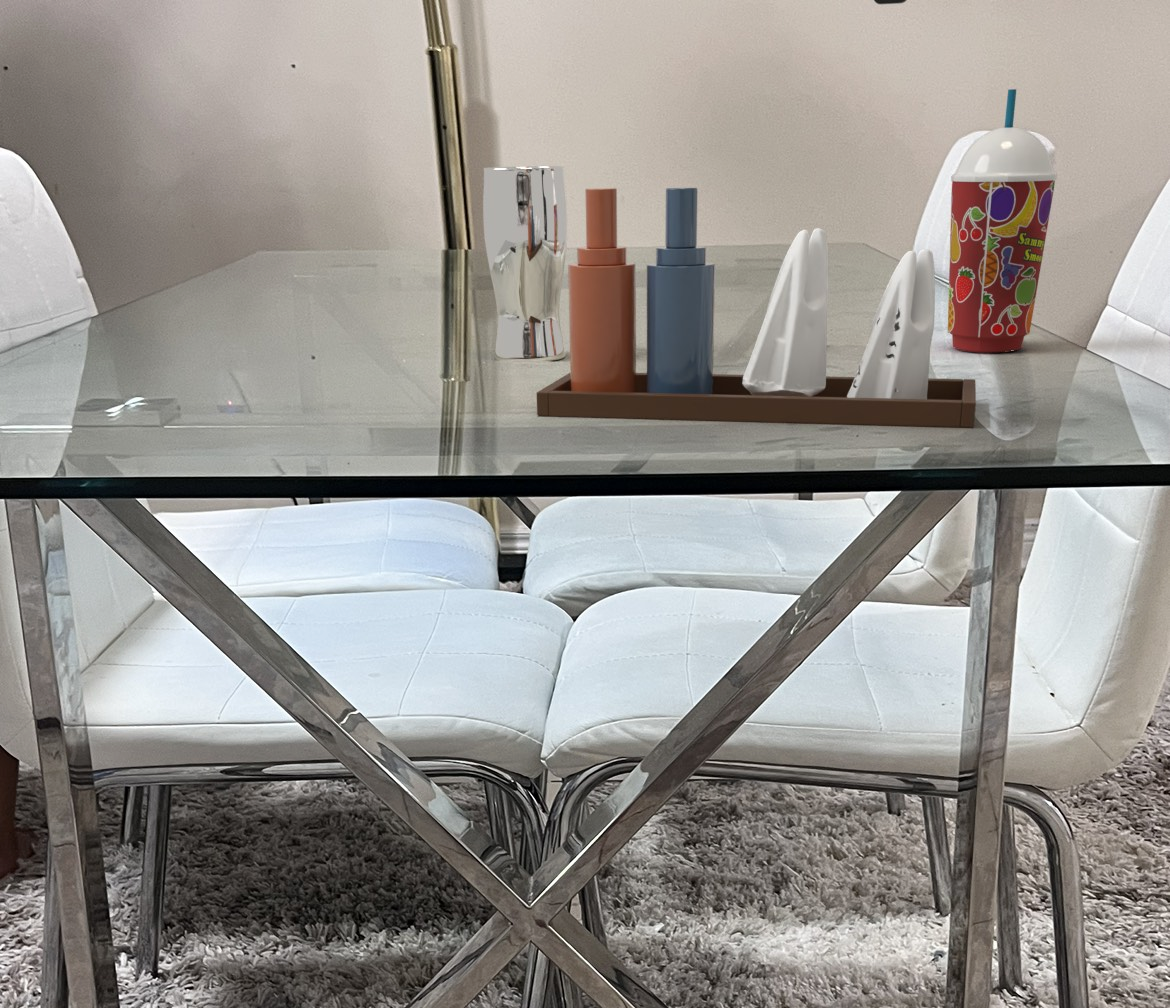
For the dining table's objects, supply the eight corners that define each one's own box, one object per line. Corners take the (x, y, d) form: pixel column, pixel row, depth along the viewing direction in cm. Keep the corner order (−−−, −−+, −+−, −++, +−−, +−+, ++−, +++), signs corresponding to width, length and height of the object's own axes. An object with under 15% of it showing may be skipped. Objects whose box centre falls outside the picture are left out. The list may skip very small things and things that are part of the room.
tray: (972, 411, 93) (975, 379, 92) (972, 437, 85) (975, 402, 84) (572, 401, 100) (571, 371, 99) (537, 425, 92) (536, 392, 91)
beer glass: (552, 364, 116) (547, 167, 110) (476, 362, 118) (466, 168, 112) (582, 353, 122) (578, 165, 116) (508, 350, 124) (501, 166, 118)
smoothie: (1035, 356, 115) (1065, 86, 107) (932, 354, 118) (953, 89, 110) (1039, 343, 123) (1068, 89, 114) (942, 341, 125) (963, 92, 117)
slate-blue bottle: (717, 402, 95) (722, 186, 89) (706, 413, 91) (710, 188, 85) (653, 400, 96) (654, 186, 90) (640, 412, 92) (640, 189, 86)
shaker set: (741, 415, 90) (746, 231, 85) (742, 404, 94) (747, 227, 89) (931, 416, 89) (947, 229, 84) (925, 405, 92) (940, 225, 88)
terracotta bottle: (642, 400, 96) (642, 186, 90) (628, 411, 92) (627, 189, 87) (580, 398, 97) (576, 187, 91) (563, 410, 93) (558, 190, 88)
